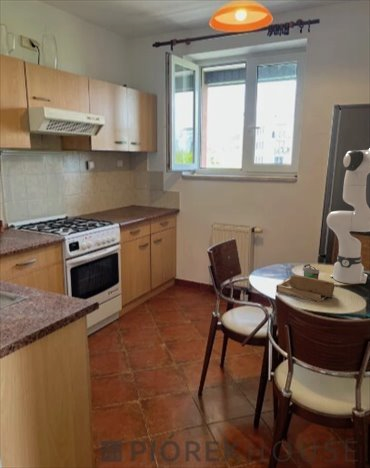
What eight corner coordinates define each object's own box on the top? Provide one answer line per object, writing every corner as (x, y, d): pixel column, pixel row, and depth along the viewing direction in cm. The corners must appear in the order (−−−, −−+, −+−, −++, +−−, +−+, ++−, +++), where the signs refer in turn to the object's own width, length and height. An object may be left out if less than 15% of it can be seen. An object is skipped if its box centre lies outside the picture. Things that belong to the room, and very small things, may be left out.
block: (332, 282, 166) (290, 273, 177) (329, 298, 166) (287, 288, 177) (336, 282, 175) (296, 273, 186) (333, 296, 176) (293, 287, 186)
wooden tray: (289, 284, 194) (289, 277, 193) (331, 293, 179) (331, 286, 178) (276, 291, 182) (276, 285, 182) (319, 302, 168) (320, 295, 167)
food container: (298, 280, 198) (299, 263, 196) (308, 280, 199) (309, 263, 197) (307, 288, 186) (308, 270, 184) (318, 288, 187) (319, 269, 185)
